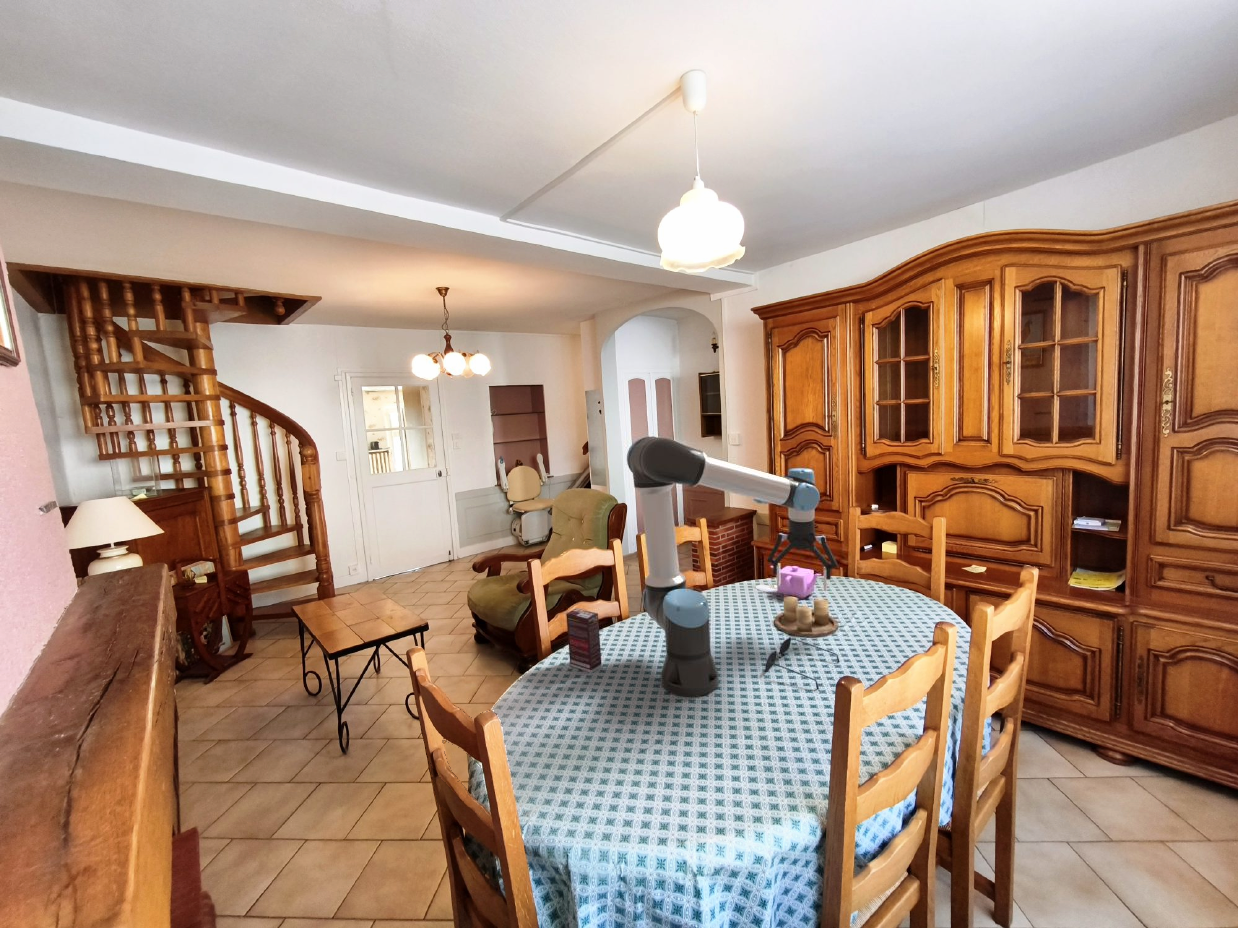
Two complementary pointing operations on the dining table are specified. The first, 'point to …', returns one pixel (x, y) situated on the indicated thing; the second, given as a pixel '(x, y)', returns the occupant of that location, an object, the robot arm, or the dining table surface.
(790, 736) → the dining table surface
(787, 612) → the bead
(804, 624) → the bead
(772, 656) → the sunglasses
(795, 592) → the teapot
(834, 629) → the tray
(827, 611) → the bead seated
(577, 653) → the supplement box
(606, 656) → the dining table surface
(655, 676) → the dining table surface
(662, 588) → the robot arm
